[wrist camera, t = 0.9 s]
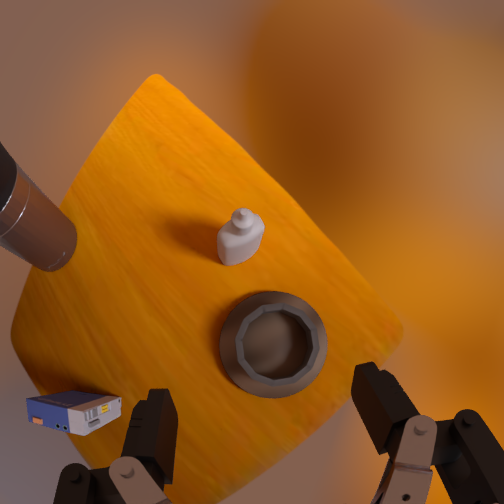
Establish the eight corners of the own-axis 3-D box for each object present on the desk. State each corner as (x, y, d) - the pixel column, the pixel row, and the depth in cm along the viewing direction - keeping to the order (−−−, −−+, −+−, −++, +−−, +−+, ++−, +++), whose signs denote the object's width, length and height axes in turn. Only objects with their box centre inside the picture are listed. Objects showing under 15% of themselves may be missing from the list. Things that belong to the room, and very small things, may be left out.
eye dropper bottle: (217, 236, 41) (216, 193, 30) (258, 236, 42) (270, 193, 31) (217, 266, 40) (215, 232, 29) (259, 266, 40) (272, 232, 29)
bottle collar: (197, 334, 37) (195, 332, 33) (282, 272, 40) (287, 265, 37) (263, 417, 34) (267, 423, 31) (344, 351, 38) (354, 351, 34)
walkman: (73, 408, 31) (26, 422, 20) (72, 390, 32) (24, 398, 21) (123, 416, 32) (85, 438, 21) (121, 397, 33) (82, 412, 22)
